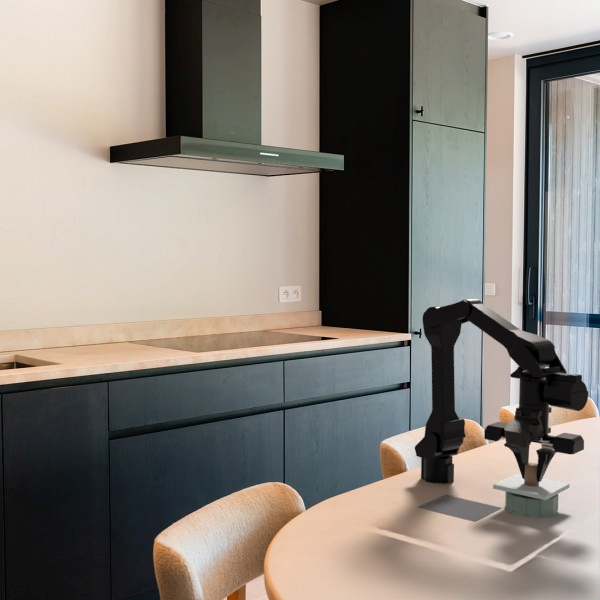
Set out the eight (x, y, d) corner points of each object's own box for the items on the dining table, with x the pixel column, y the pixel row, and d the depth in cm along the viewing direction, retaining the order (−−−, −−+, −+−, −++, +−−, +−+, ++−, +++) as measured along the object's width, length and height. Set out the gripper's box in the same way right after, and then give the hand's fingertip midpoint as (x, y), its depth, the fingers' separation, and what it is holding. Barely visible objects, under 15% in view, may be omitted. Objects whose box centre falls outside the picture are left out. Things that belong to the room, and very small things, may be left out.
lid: (493, 488, 163) (493, 464, 163) (518, 477, 172) (519, 454, 171) (545, 500, 156) (546, 475, 156) (569, 487, 164) (570, 464, 164)
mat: (417, 509, 165) (417, 506, 165) (445, 497, 173) (445, 494, 173) (474, 524, 156) (475, 521, 156) (502, 510, 165) (502, 507, 164)
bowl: (496, 512, 164) (496, 492, 163) (519, 500, 171) (519, 481, 171) (544, 523, 157) (544, 503, 157) (565, 511, 165) (566, 491, 164)
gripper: (471, 402, 163) (469, 479, 164) (562, 415, 151) (559, 499, 152) (498, 394, 171) (496, 468, 172) (586, 406, 159) (583, 486, 160)
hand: (531, 480), depth 164 cm, fingers closed on lid, 3 cm apart
